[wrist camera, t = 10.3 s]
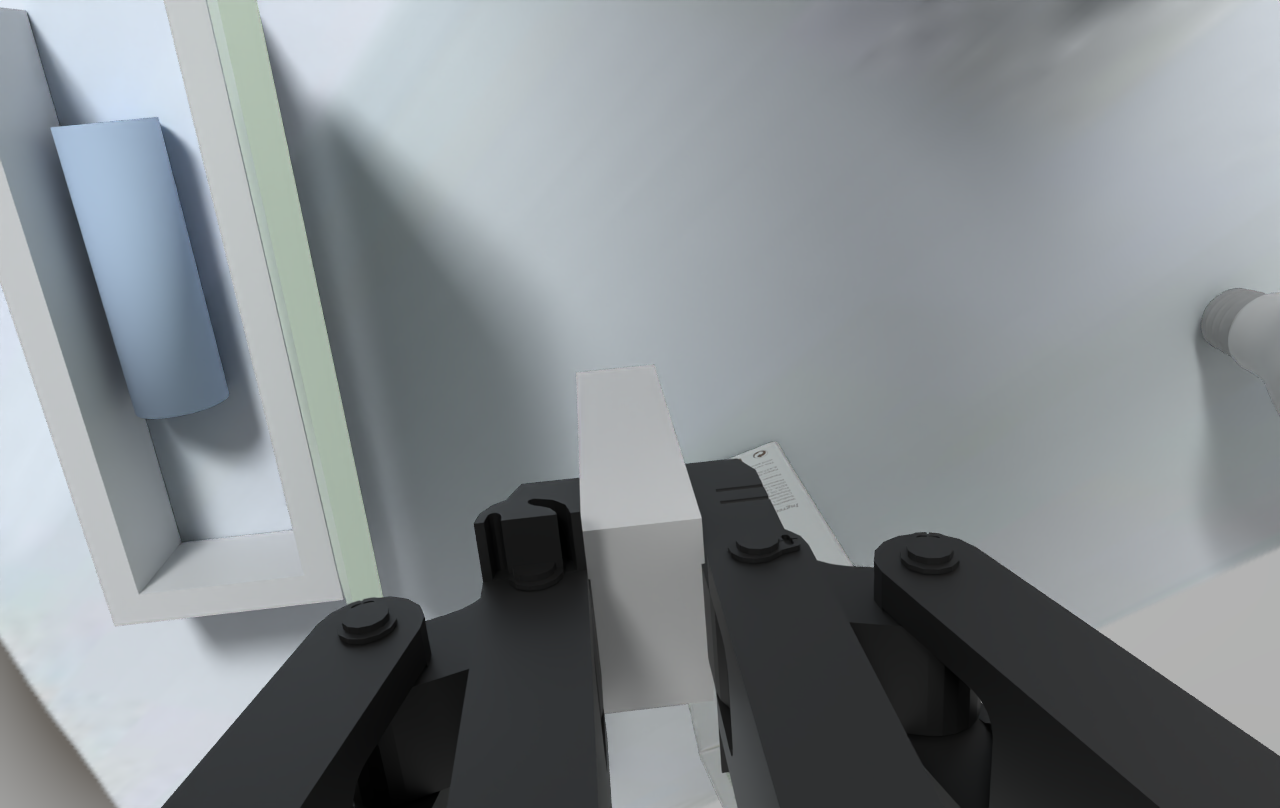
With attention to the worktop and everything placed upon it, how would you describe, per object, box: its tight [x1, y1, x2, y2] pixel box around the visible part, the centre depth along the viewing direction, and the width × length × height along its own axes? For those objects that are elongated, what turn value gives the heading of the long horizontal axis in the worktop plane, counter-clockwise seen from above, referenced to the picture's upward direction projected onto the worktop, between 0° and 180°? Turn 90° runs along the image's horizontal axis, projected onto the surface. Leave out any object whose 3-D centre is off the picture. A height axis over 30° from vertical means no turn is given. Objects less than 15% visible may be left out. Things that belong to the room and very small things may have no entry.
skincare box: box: [688, 442, 853, 808], centre depth 32 cm, size 8×7×16 cm
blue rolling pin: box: [51, 117, 229, 419], centre depth 32 cm, size 10×3×3 cm
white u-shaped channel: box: [0, 0, 345, 626], centre depth 32 cm, size 21×8×4 cm, turn 5°
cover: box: [207, 0, 383, 605], centre depth 27 cm, size 20×9×1 cm
